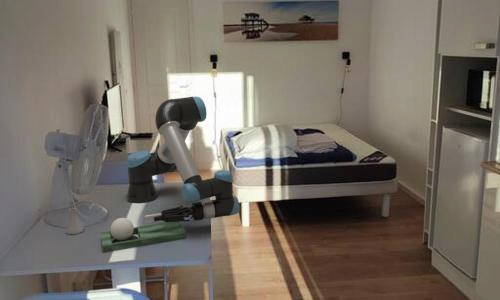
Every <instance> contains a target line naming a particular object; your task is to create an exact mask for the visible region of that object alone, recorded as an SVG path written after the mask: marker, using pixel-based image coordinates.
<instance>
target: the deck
mask: <svg viewBox="0 0 500 300" xmlns="http://www.w3.org/2000/svg"><path fill="white" fill-rule="evenodd" d="M137 235H138V236H137ZM100 238H101V245H102V253H108V252H114V251H119V250H120V251H121V250H125V249H132V248H137V247H143V246H144V247H145V246H149V245H150V246H151V245H155V244H161V243H166V242H167V243H168V242H173V241H178V240H184V239H187V233H186V231H185V229H184V227H183V226H182V223H181V221H179V222H161V223H154V224H149V225H141V226H136V227H135V226H134V231H133V234H132V236H131V237H130V238H128V239H127V240H123V241H120V240H117V239H115V238H114V237H113V236H112V234H111V231H110V230H109V231H103V232H100Z"/></svg>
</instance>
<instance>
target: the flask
mask: <svg viewBox="0 0 500 300" xmlns="http://www.w3.org/2000/svg"><path fill="white" fill-rule="evenodd" d="M77 210H78V208H73V207H72V208H69V209H68V212H69V219H68V220H69V221H68V224H67V228H66V232H65V234H68V235H79V234H81V233H84V231H85V227H84V225H83V223H82V222H81V220H80V218H79V216H78V213H77Z"/></svg>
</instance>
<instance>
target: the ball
mask: <svg viewBox="0 0 500 300" xmlns="http://www.w3.org/2000/svg"><path fill="white" fill-rule="evenodd" d="M134 227H135V226H134V224H133V222H132V220H130V219H128V218H126V217H120V218H119V217H118V218H117V219H115V220H114V221H113V222H112V223H111V225H110V228H109V229H110V230H109V231H111V234H112V236H113V237H114V238H113V239H117V240H120V241H123V240H127V239H128V238H130V237H131V236H132V234H133V231H134Z"/></svg>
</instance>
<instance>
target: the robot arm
mask: <svg viewBox="0 0 500 300" xmlns="http://www.w3.org/2000/svg"><path fill="white" fill-rule="evenodd" d="M207 115H208V114H207V107H206V104H205V102H204V100H203V98H201V97H200V96H187V97H180V98H171V99H166V100H164V101H163V102H162V103H161V104H160V105H159V106H158V108H157V110H156V114H155V126H156V129H157V132H158V134H160V135H161V136H162V138H163V139H164V142H163V144H162V145H160V146H159V147H157V151H155V152H151V151H149V150H140V151H136V152H133V153H131V154H129V155H128V156H127V160H126V162H127V164H126V167H127V172H128V174H127V175H128V185H129V186H128V189H127V191H126V192H127V194H126V200H127V202H130V203H134V204H138V203H140V204H141V203H142V204H143V203H147V202H152V201H154V200H156V199H157V198H158V197H159V196H158V191H157V188H156V186H155V184H154V181H153V179H154V177H155V176H159V175H164V174H169V173H170V174H171V173H174V172H177V171H178V173H179V176H180V177H181V181H182V182H183V185H182V186H181V190H180V192H181V197H182V198H183V200H184V201H185V202H186V203H192V204H191V207H190V206H184V205H179V206H176V207H173V208H168V209H165V210H162V211H161V212H160V213H152V214H146V215H144V222H145V224H149V223H155V222H161V221H162V222H164V223H166V222H190V219H193V220H194V221H195V222H198V221H203V220H212V219H215V218H222V217H230V216H234V215H237V214H239V213H240V201H239V199H238V197H236V196H234V189H233V188H234V187H233V185H234V184H233V183H234V181H233V174H232V172H231V171H230V170H227V169H222V170H216V171H215V172H214V173H213V177H211V178H208V179H203V178H202V176H201V173H200V171H199V170H198V167H197V166H196V163H195V161H194V159H193V156H192V153H191V152H190V150H189V147H188V145H187V143H186V139H187V137H188V136H189V133H190V132H191V131H192V130H194V129H195V128H196V126H197V125H198V123H202V122H205V121H206V119H207ZM213 197H215V199H210V200H206V199H209V198H213ZM201 200H203V201H202V202H201Z"/></svg>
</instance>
